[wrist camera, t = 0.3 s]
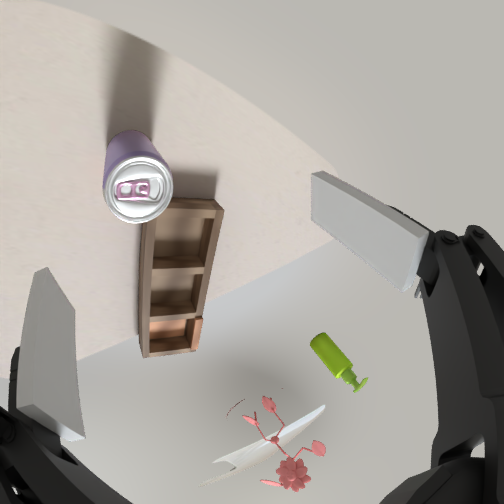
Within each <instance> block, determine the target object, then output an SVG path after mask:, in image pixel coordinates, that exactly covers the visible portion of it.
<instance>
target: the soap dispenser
mask: <svg viewBox="0 0 504 504" xmlns="http://www.w3.org/2000/svg"><path fill="white" fill-rule="evenodd" d="M310 346H311V348H312V349H313V350H314V351H315V352H316V354H317V355H318V356H319V357H320V359H321V360H322V361H323V363H324V364H325V365H326V366H327V368H328V369H329V370H330V371H331V372H332V373H333V375H334V376H335V377H336V378H340V377H342V379H343V380H344V381H345V382H346V383H347V384H352V386H353V387H354V388H355V390H354V391H353V392H354V393H355V392H357V391H359V390H360V389H361V388H362V387H363V386H364V385H365V383H366V382H367V380H368V378H365V379H363V380H362V382H361V383H360V384H359V383H358V382H357V381H356V377H357V376H356V375H355V373H354V372H353V371H352V370H351V368H352V366H353V365H352V363H351V362H350V361H349V359H348V358H347V357H346V356H345V355H344V354H343V352H341V350H340V349H339V348H338V347H337V346H336V345H335V343H334V342H333V341H332V340H331V339H330V337H329V336H328V335H327V334H326V333H321V334H318V335H317V336H316V337H315V338H313V340H312V341H311V343H310Z"/></svg>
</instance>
